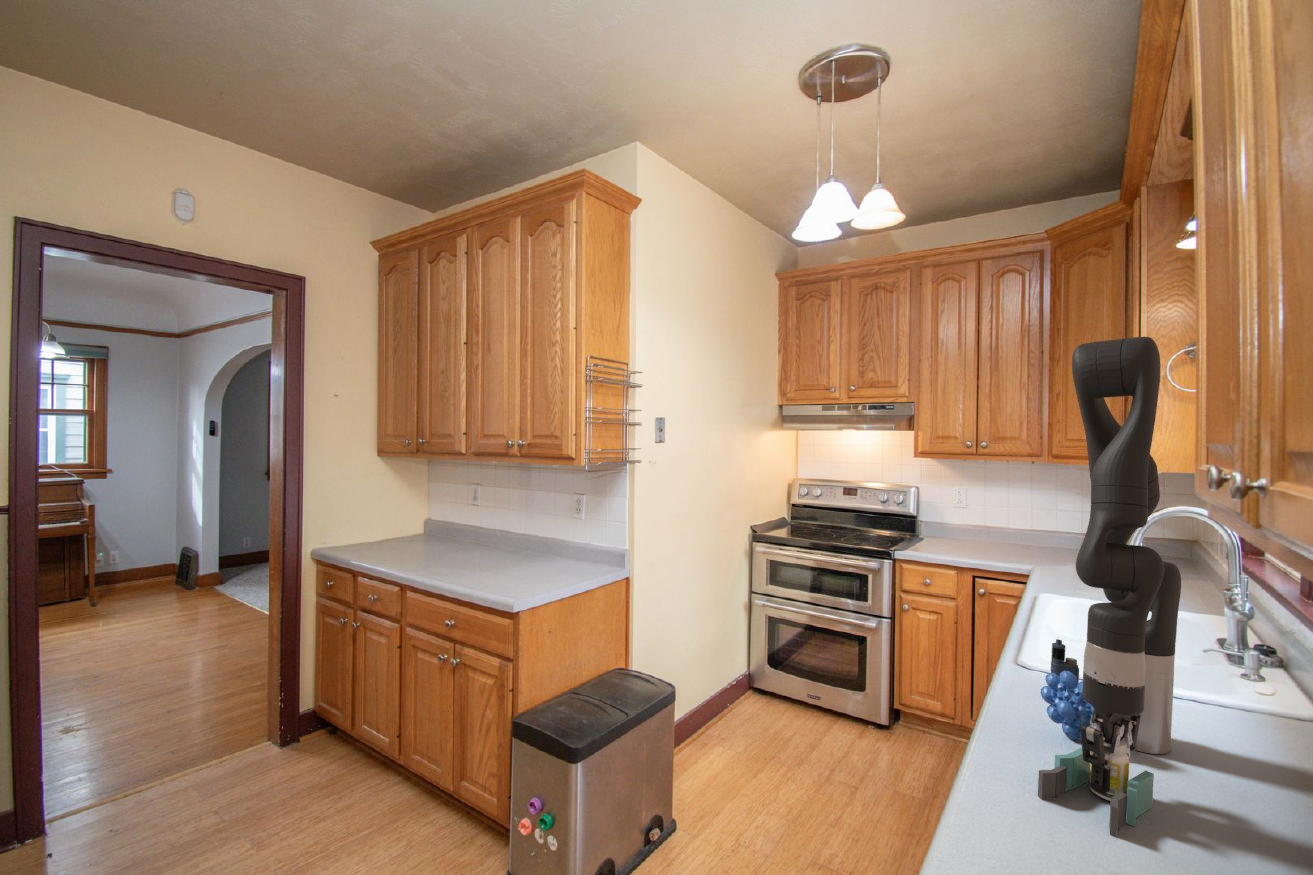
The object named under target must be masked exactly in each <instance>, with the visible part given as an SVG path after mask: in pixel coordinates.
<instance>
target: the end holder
mask: <svg viewBox="0 0 1313 875" xmlns="http://www.w3.org/2000/svg"><path fill="white" fill-rule="evenodd" d="M1060 765H1063V766H1065V767H1067V782H1066V791H1070V790H1072V791H1073V790H1074V789H1076V788H1078V787H1080V786H1082V785H1083V784H1086V783H1087V782H1089V780H1090V763H1088V762H1086V761H1084V760H1083V752H1082V747H1079V748H1078V749H1075V750H1074V751H1071V752H1069V753H1067V754H1066V753H1065V754H1055V755H1054V768H1056V767H1058V766H1060ZM1154 775H1155V774H1154V773H1152V772H1151V771H1148V770H1144V771H1142V772H1141V773H1139V774H1136V775H1135V776H1134V777H1132V778H1131V779H1129V780H1128V781H1127V811H1126V823H1125V824H1126V825H1129V826H1132V827H1136V823H1137V822H1136V821H1137V820H1136V819H1137V818H1138V817H1139V816H1141V815H1143V814H1144V813H1146V812H1147V811H1149V810H1151V809H1152V808H1153V800H1154Z"/></svg>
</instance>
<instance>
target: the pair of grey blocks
mask: <svg viewBox="0 0 1313 875" xmlns="http://www.w3.org/2000/svg"><path fill="white" fill-rule="evenodd" d="M1066 782H1067V767H1065V766H1063V765H1060V766H1058V767H1056V768H1055V767H1054V768H1052V769H1043V770H1042V769H1041V770H1040V769H1039V770H1038V782H1037V797H1038V798H1039V799H1040V800H1041V801H1042V800H1043V801H1044V800H1055V799H1058V798H1060V797H1062V796H1064V795H1065V794H1067V790H1066ZM1109 801H1110V802H1109V803H1110V804H1109V806H1110V807H1109V823H1108V829H1109V835H1110V836H1111V837H1114V838H1115V837H1116V838H1118V829H1119V828H1120V827H1122V826H1123V825H1125V824H1126V811H1127V795H1126V794H1124V793H1122V792H1120V793H1118V794H1116V795H1115V796H1113V797H1111V800H1109Z"/></svg>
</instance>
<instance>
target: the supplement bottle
mask: <svg viewBox="0 0 1313 875" xmlns="http://www.w3.org/2000/svg"><path fill="white" fill-rule="evenodd" d="M1104 745H1105V746H1108V747H1110V746H1111V744H1108V743H1106V742H1104ZM1126 749H1127V744H1126V742H1125V741H1124V740H1122V741H1120V743H1119V748H1118V753H1117V754H1116V755H1113V757H1112V762H1111V767H1110V769H1111V771H1110V791H1109V792H1107V793H1103V792H1101V791H1099V790H1096V789H1094V788H1093V787H1092V786H1091V767H1092V764H1091V763H1090V780H1089V781H1088V784H1089V789H1090V790H1091V792H1093V794H1095V795H1096V796H1098V797H1100V798H1102V799H1103V800H1104V799H1105V800H1107V801H1110V800H1111V797H1113V796H1115V795H1116V794H1118V793H1120V792H1122V793H1124V794H1126V795H1127V781H1129V780H1130V779H1129V778H1130V777H1129V776H1130V757H1129V758H1128V756H1127V755H1126V751H1127V750H1126ZM1104 753H1105V755H1106V752H1105V751H1104Z"/></svg>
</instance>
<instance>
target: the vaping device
mask: <svg viewBox="0 0 1313 875" xmlns="http://www.w3.org/2000/svg"><path fill="white" fill-rule="evenodd" d="M1062 671H1069V672H1071V673H1073V674H1074V675H1075V676H1076V677H1077V680H1078V683H1079V682H1080V681H1079V680H1080V668H1079V664H1078V660H1077V659H1076V658H1073V657H1066V645H1065V644H1064V643H1063V641H1062V639H1058V638H1056V639H1055V642H1052V643H1051V660H1050V673H1055V674H1057V675H1058V676H1059V677H1060V673H1061V672H1062Z"/></svg>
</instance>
